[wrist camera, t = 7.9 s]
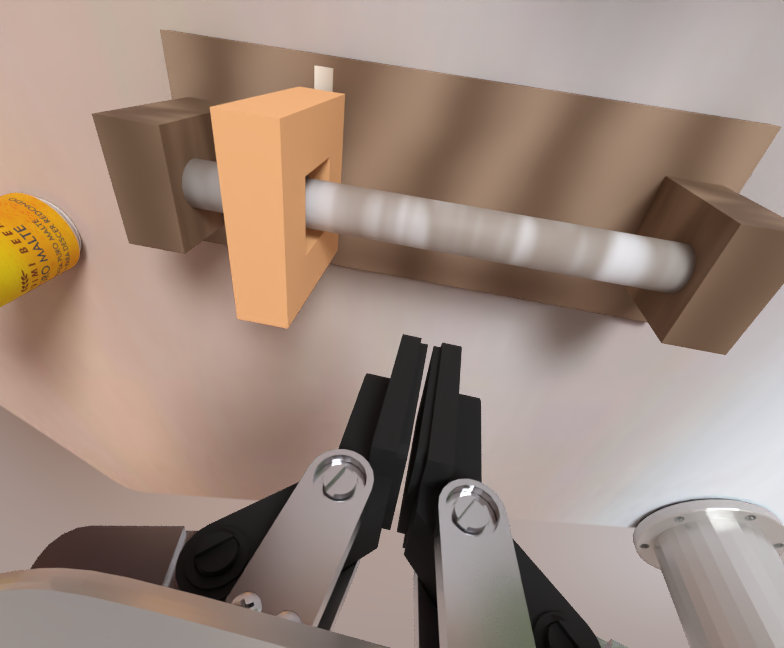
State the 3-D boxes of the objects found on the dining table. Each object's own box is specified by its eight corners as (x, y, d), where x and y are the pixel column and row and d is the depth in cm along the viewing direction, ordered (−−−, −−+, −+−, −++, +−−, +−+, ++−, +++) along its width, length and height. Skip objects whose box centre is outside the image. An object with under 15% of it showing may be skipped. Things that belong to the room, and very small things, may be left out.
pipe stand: (771, 124, 20) (917, 160, 14) (651, 317, 27) (709, 402, 21) (169, 30, 22) (42, 22, 15) (203, 234, 29) (126, 289, 22)
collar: (345, 94, 21) (279, 118, 13) (337, 250, 26) (287, 328, 19) (299, 86, 21) (209, 106, 14) (301, 243, 26) (237, 318, 19)
